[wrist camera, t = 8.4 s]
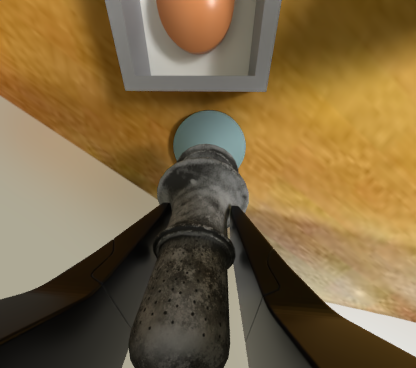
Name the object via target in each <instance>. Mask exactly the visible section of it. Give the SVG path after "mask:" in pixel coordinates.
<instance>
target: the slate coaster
mask: <svg viewBox="0 0 416 368" xmlns="http://www.w3.org/2000/svg"><path fill="white" fill-rule="evenodd" d="M199 144H212V145H216V146H219V147H221V148H223V149H225V150H226V151H227V152H229V153H230V154H231V155H232V157H233V158H234V160H235V161H236V164H237V167H238V168H239V166H240V165H241V163H242V161H243V159H244V156H245V149H246V144H245V138H244V135H243V132H242V130H241V129H240V127H239V125H238V124H237V123H236V122H235V120H234V119H232V118H231V117H230V116H228V115H227V114H225V113H222V112H219V111H215V110H204V111H199V112H197V113H194V114H192V115H191V116H189V117H188V118H187V119H185V120H184V121H183V122H182V124H181V125H180V126H179V128H178V129H177V131H176V134H175V137H174V143H173V148H174V154H175V157H176V160H178V158H179V157H180V156H181V154H182V153H183V152H184V151H186V150H187V149H188V148H190V147H193V146H195V145H199Z"/></svg>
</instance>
